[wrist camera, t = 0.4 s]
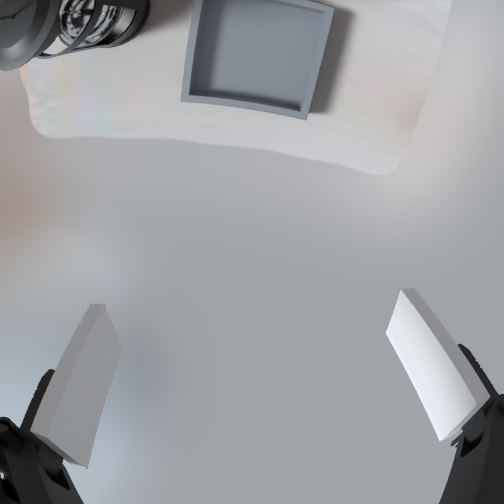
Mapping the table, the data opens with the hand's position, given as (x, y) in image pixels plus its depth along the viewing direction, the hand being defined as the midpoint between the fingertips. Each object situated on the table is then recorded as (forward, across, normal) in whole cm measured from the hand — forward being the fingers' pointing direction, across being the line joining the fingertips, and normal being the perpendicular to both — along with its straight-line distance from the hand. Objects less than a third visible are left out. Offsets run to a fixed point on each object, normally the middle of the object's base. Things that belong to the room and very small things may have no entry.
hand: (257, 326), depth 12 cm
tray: (+23, +2, +16) cm, 28 cm away
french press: (+23, -15, +23) cm, 36 cm away
